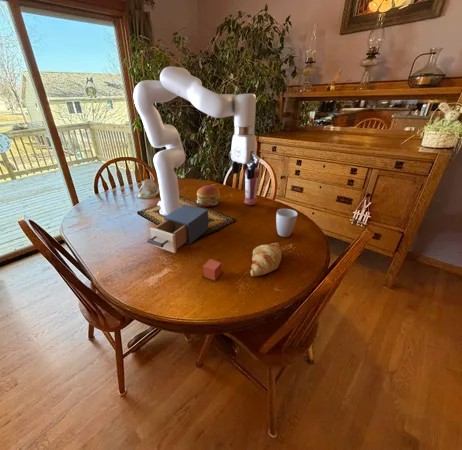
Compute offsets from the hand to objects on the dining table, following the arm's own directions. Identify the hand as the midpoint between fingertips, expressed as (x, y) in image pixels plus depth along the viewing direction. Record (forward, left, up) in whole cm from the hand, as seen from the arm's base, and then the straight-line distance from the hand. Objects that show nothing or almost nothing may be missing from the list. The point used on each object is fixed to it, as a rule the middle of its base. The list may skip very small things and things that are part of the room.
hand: (242, 175), depth 97 cm
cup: (+19, +3, -24) cm, 31 cm away
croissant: (+19, -20, -24) cm, 36 cm away
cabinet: (-18, -16, -24) cm, 34 cm away
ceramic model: (-68, +11, -24) cm, 73 cm away
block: (+6, -35, -24) cm, 43 cm away
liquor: (-6, +26, -24) cm, 36 cm away
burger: (-27, +16, -24) cm, 40 cm away
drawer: (-18, -28, -23) cm, 40 cm away
